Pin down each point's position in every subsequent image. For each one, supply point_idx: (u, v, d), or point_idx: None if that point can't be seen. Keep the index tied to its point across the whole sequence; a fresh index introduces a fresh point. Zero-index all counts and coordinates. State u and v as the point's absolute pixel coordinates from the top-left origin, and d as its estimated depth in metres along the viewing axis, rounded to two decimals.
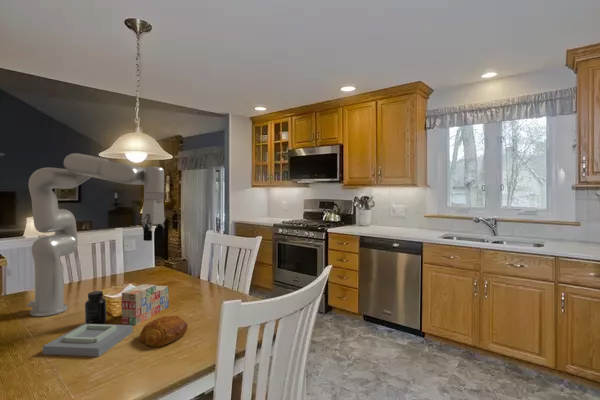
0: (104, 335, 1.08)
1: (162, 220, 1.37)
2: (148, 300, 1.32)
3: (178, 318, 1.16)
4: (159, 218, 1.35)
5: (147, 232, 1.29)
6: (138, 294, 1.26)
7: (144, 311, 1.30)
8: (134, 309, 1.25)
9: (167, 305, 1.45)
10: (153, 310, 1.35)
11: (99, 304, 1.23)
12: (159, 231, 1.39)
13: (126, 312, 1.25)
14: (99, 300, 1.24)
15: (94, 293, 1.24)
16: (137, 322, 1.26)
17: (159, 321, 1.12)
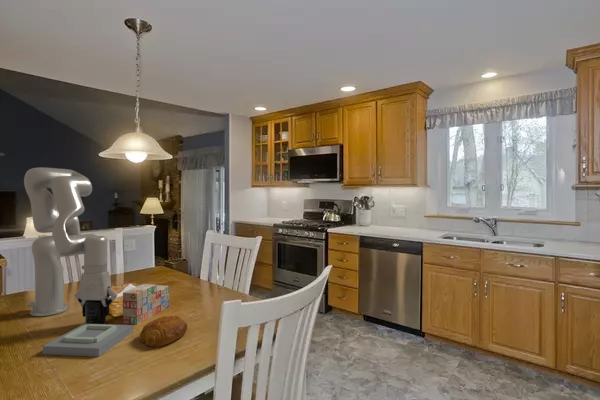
0: (104, 335, 1.08)
1: None
2: (149, 300, 1.32)
3: (178, 318, 1.16)
4: None
5: (108, 307, 1.25)
6: (139, 294, 1.26)
7: (145, 311, 1.30)
8: (135, 309, 1.25)
9: (168, 305, 1.45)
10: (153, 310, 1.35)
11: (99, 304, 1.23)
12: None
13: (127, 312, 1.26)
14: None
15: None
16: (138, 321, 1.26)
17: (159, 321, 1.12)
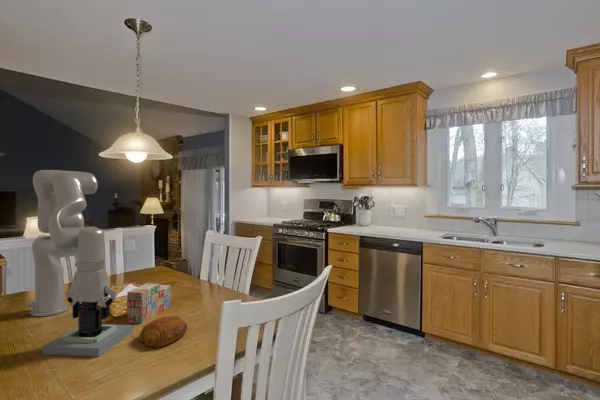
0: (104, 335, 1.08)
1: None
2: (153, 299, 1.33)
3: (178, 319, 1.16)
4: None
5: (108, 307, 1.10)
6: (144, 293, 1.28)
7: (150, 310, 1.31)
8: (140, 308, 1.26)
9: (170, 304, 1.46)
10: (157, 309, 1.36)
11: (94, 312, 1.08)
12: (78, 309, 1.10)
13: (132, 311, 1.27)
14: (94, 307, 1.09)
15: None
16: (143, 321, 1.27)
17: (159, 322, 1.12)
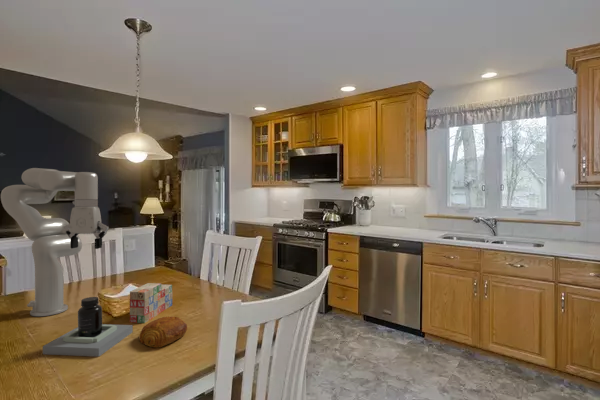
0: (104, 335, 1.08)
1: None
2: (155, 299, 1.34)
3: (178, 319, 1.15)
4: None
5: (101, 239, 1.28)
6: (146, 292, 1.28)
7: (152, 309, 1.32)
8: (143, 307, 1.27)
9: (171, 303, 1.47)
10: (159, 308, 1.37)
11: (94, 312, 1.08)
12: (75, 241, 1.29)
13: (135, 311, 1.27)
14: (94, 307, 1.09)
15: (88, 299, 1.09)
16: (146, 320, 1.28)
17: (158, 322, 1.11)
